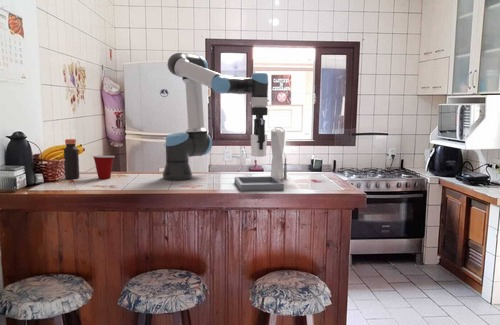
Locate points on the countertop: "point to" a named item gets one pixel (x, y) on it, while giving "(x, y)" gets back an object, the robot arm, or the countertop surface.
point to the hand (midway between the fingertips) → (258, 155)
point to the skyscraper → (278, 154)
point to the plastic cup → (104, 166)
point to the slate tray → (259, 183)
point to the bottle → (71, 159)
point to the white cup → (255, 145)
